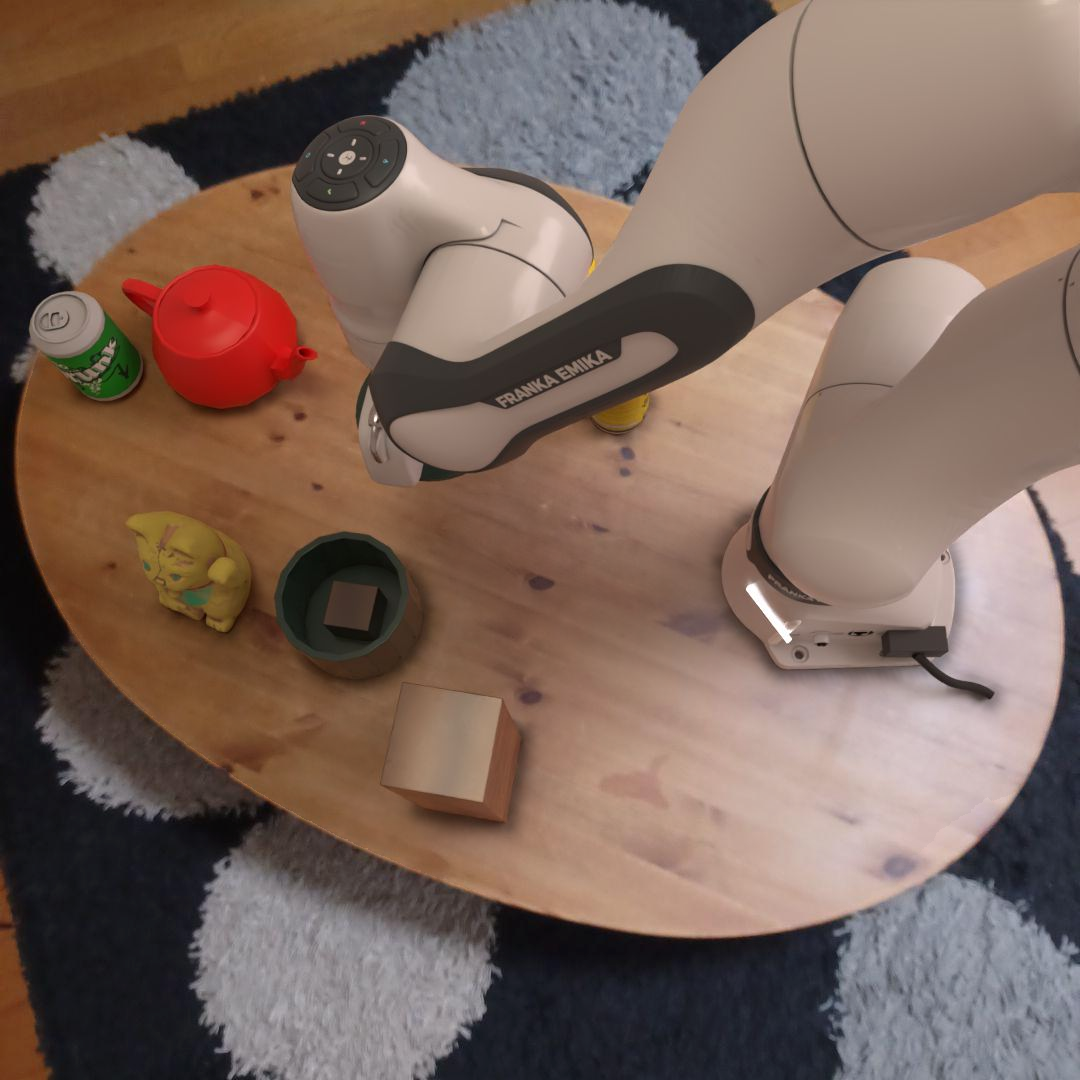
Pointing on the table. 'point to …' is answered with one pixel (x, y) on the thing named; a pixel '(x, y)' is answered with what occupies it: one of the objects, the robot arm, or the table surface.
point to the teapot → (220, 335)
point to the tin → (308, 598)
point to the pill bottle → (623, 415)
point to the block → (355, 611)
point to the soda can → (86, 345)
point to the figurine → (193, 566)
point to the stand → (452, 752)
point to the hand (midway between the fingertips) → (432, 402)
